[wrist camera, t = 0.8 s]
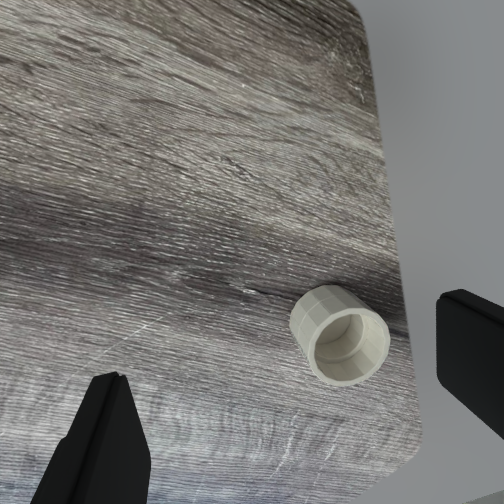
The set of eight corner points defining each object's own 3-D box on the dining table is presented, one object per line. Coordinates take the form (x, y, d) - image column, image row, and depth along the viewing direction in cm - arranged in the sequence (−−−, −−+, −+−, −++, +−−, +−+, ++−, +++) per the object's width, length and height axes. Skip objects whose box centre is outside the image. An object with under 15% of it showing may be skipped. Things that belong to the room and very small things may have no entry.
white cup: (291, 282, 29) (314, 308, 24) (361, 282, 31) (397, 307, 25) (284, 350, 31) (303, 388, 26) (351, 348, 32) (382, 384, 27)
